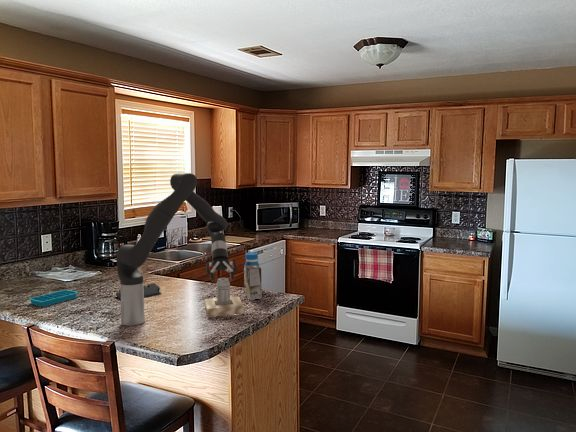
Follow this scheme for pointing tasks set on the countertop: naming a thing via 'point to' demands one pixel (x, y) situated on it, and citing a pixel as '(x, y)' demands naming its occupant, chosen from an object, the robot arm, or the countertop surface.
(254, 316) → the countertop surface
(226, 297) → the energy drink can
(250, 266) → the coffee box
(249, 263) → the beverage bottle
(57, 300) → the ice cube tray
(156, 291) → the dark slate chunk
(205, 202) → the robot arm
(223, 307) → the socket board
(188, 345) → the countertop surface
